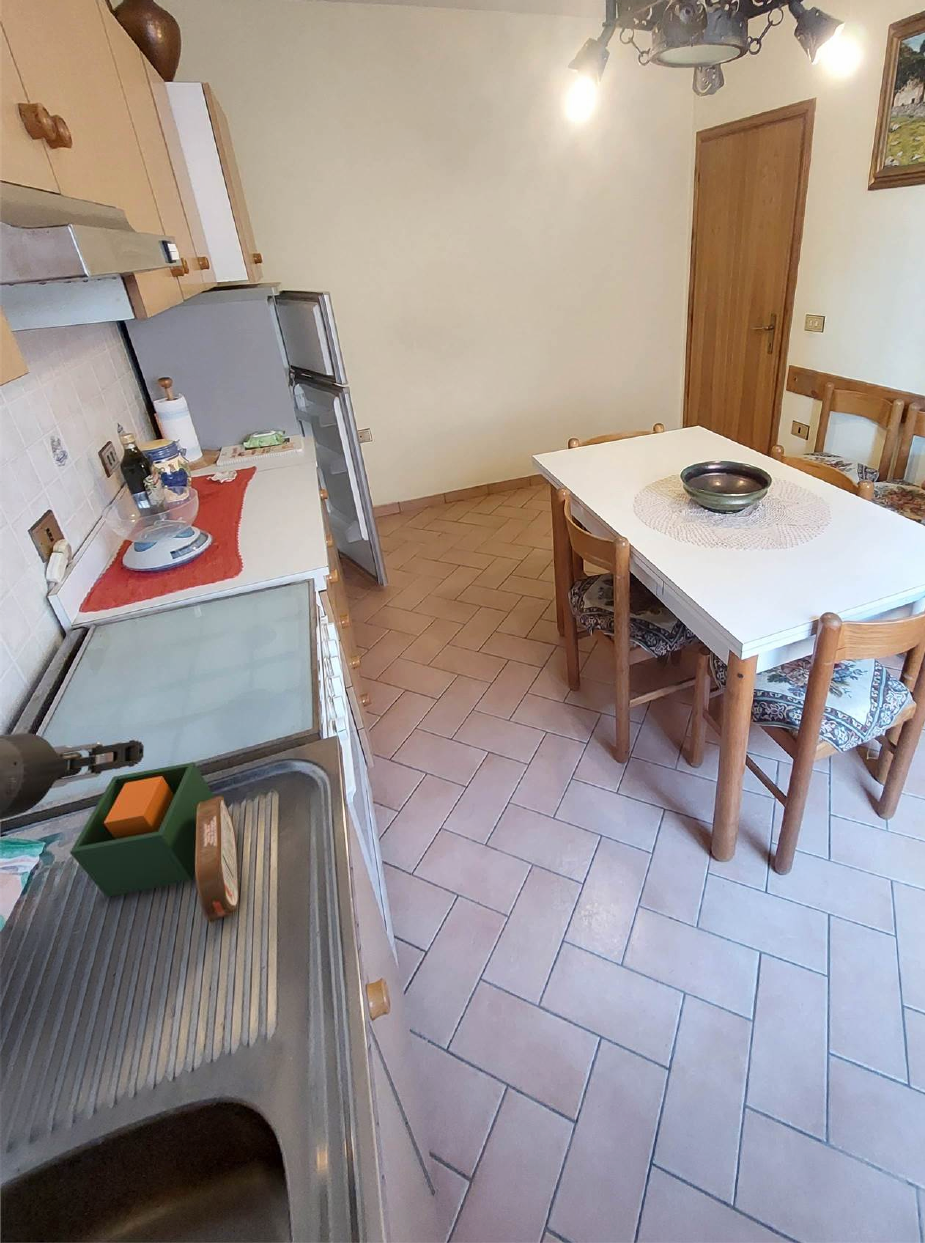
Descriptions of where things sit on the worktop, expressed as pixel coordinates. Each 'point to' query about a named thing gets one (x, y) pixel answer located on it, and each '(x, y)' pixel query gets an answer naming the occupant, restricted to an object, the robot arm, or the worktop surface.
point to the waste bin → (144, 837)
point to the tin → (216, 859)
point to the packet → (139, 808)
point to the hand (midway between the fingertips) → (100, 759)
